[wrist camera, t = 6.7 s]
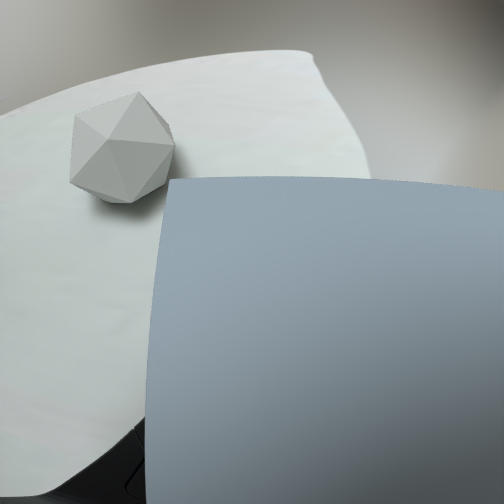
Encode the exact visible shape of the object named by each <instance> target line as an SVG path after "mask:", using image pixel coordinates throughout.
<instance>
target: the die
mask: <svg viewBox="0 0 504 504" xmlns="http://www.w3.org/2000/svg"><path fill="white" fill-rule="evenodd" d="M174 148H175V143H174V140H173V137H172V134H171V131H170V128H169V125H168V124H167V122H166V121H165V120H164V119H163V118H162V117H161V116H160V115H159V114H158V112H157V111H156V110H155V109H154V108H153V107H152V106H151V105H150V104H149V102H148V101H147V100H146V99H145V98H144V97H143V96H142V95H141V94H140V92H136V93H133V94H130V95H127V96H124V97H121V98H118V99H116V100H113V101H110V102H107V103H104V104H102V105H99V106H96V107H94V108H91V109H89V110H86V111H84V112H81V113H79V114H76V115H75V119H74V128H73V138H72V149H71V163H70V183H71V184H73V185H75V186H77V187H79V188H81V189H83V190H85V191H87V192H89V193H91V194H93V195H95V196H97V197H98V198H100V199H102V200H104V201H106V202H108V203H132V202H134V201H136V200H138V199H139V198H141V197H143V196H144V195H146V194H148V193H150V192H151V191H153V190H155V189H157V188H159V187H160V186H162V185H164V184H165V183H166V179H167V175H168V171H169V167H170V163H171V159H172V156H173V152H174Z"/></svg>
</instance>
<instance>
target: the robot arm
mask: <svg viewBox="0 0 504 504" xmlns="http://www.w3.org/2000/svg"><path fill="white" fill-rule="evenodd" d="M0 504H146V482H145V417H144V418H143V419H142V420H141V421H140V422H139V423H138V424H137V425H136V426H135V427H134V429H132V430H131V431H130V432H129V433H128V434H126V435H125V436H124V437H123V438H122V439H121V440H120V441H119V442H118V443H117V444H116V445H114V446H113V447H112V448H111V449H110V450H109V451H107V452H106V453H105V454H104V455H102V456H101V457H100V458H98V459H97V460H96V461H94V462H93V463H92V464H90V465H89V466H87V467H86V468H85V469H83V470H82V471H80V472H79V473H78V474H76V475H75V476H73V477H72V478H70V479H69V480H67V481H66V482H65V483H63V484H62V485H60V486H59V487H57V488H55V489H54V490H51V491H49V492H47V493H44V494H41V495H36V496H26V497H0Z"/></svg>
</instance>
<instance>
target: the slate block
mask: <svg viewBox="0 0 504 504" xmlns="http://www.w3.org/2000/svg"><path fill="white" fill-rule="evenodd" d="M145 482H146V504H504V192H502V191H494V190H487V189H479V188H470V187H462V186H452V185H442V184H432V183H419V182H408V181H392V180H377V179H358V178H333V177H280V176H263V177H209V178H184V179H170V181H169V186H168V192H167V198H166V204H165V210H164V216H163V222H162V229H161V236H160V243H159V250H158V257H157V265H156V273H155V281H154V290H153V300H152V310H151V321H150V332H149V345H148V360H147V378H146V403H145Z"/></svg>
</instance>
